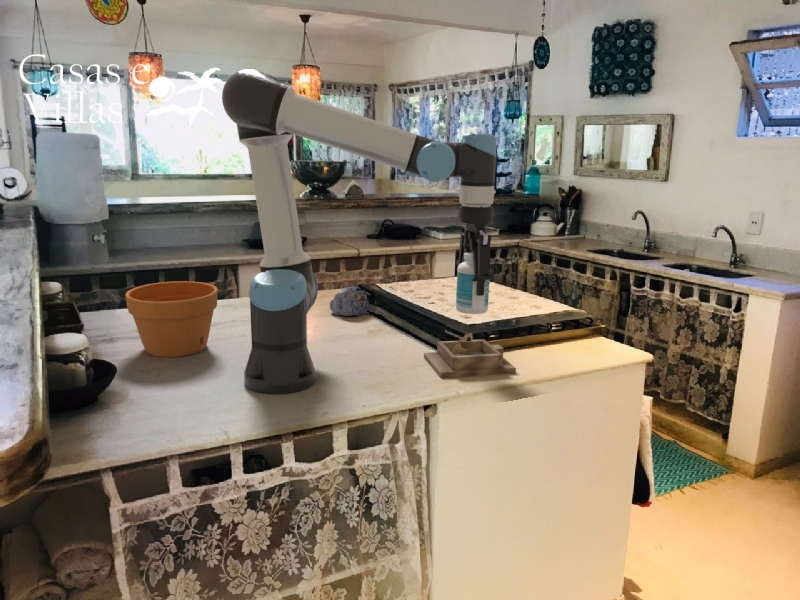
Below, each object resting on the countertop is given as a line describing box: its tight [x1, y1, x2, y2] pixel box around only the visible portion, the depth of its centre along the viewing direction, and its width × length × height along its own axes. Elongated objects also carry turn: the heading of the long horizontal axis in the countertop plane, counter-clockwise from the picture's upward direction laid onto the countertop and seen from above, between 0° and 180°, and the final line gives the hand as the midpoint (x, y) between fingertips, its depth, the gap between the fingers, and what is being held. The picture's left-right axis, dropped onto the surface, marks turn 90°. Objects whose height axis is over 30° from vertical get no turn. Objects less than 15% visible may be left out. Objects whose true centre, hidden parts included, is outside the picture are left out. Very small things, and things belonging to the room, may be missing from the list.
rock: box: [329, 285, 370, 317], centre depth 196 cm, size 11×10×10 cm
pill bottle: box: [455, 252, 490, 315], centre depth 148 cm, size 8×7×14 cm
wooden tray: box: [423, 338, 517, 378], centre depth 152 cm, size 18×14×4 cm
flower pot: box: [125, 280, 219, 358], centre depth 158 cm, size 21×21×15 cm
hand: (471, 304), depth 149 cm, fingers closed on pill bottle, 7 cm apart
